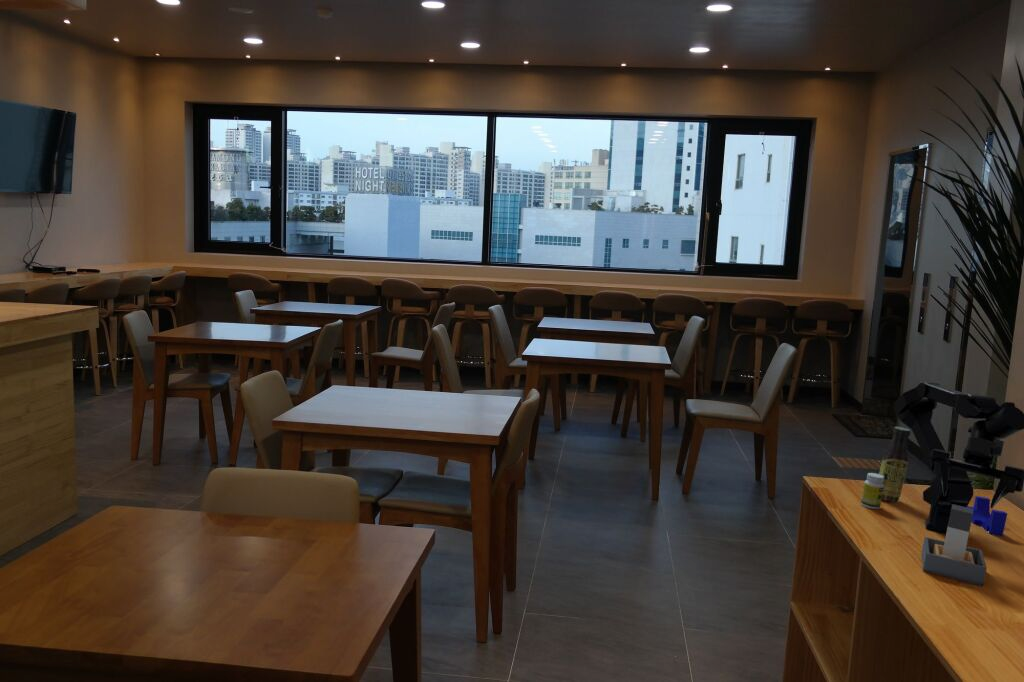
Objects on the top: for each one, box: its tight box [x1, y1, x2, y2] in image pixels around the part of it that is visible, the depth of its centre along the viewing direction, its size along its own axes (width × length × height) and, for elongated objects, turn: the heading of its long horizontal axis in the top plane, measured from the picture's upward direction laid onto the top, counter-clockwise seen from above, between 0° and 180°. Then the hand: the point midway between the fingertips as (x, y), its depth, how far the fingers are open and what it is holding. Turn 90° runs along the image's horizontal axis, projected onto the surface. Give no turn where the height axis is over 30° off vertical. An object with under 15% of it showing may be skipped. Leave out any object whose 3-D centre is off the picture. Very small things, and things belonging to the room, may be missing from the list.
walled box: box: [921, 536, 988, 587], centre depth 175 cm, size 11×11×4 cm
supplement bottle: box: [860, 472, 884, 510], centre depth 212 cm, size 5×5×8 cm
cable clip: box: [967, 495, 1008, 537], centre depth 206 cm, size 12×4×6 cm, turn 170°
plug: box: [942, 504, 973, 560], centre depth 174 cm, size 4×4×13 cm
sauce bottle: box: [878, 426, 911, 503], centre depth 219 cm, size 6×6×20 cm
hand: (967, 501), depth 180 cm, fingers open, 9 cm apart
